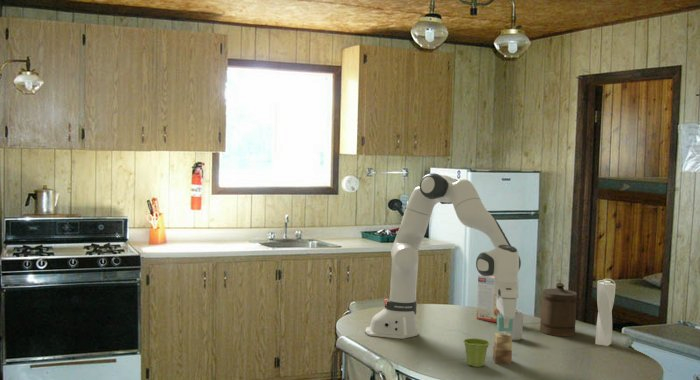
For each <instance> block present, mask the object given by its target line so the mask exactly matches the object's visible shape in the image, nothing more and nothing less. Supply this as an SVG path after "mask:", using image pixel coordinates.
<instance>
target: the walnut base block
mask: <svg viewBox="0 0 700 380" xmlns="http://www.w3.org/2000/svg"><path fill="white" fill-rule="evenodd" d="M512 356H513V351H512V349H511V351H505V350H496V348H495V346H494V345H493V349H492V360H493V362H494V364H502V365H504V364H505V365H512V361H513V360H512V359H513V357H512Z"/></svg>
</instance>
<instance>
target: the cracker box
mask: <svg viewBox="0 0 700 380" xmlns="http://www.w3.org/2000/svg"><path fill="white" fill-rule="evenodd" d="M477 278H478V279H477V295H476V296H477V298H476V299H477V300H476V302H477V303H476V320H481V321H485V322H487V321H488V322H492V323H496V324H497V315H500V311H499V310H498V309H497V307H496V300H497V294H495V293H494V279H495V278H494V276H492V277H486V276H482V275H481V274H479V275H477Z"/></svg>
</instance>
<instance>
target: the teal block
mask: <svg viewBox="0 0 700 380" xmlns="http://www.w3.org/2000/svg"><path fill="white" fill-rule="evenodd" d="M503 322H504V317H503V316H502V315H497V323H496V329H497V331H498V332H504V331H507V332H512V328H513V319H510V321H509V327H508V328H504V327H503Z"/></svg>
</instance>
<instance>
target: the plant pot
mask: <svg viewBox="0 0 700 380" xmlns="http://www.w3.org/2000/svg"><path fill="white" fill-rule="evenodd" d="M463 343H464V347H465V354H466V362H467V365H468V366H472V367H475V368H476V367H479V368H480V367H483V366H485V362H486V356H487V351H488V350H487V349H488V347H489V345H490V341H489V340H486V339H481V338H475V337H474V338H472V337H471V338H470V337H469V338H465V339H463Z"/></svg>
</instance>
